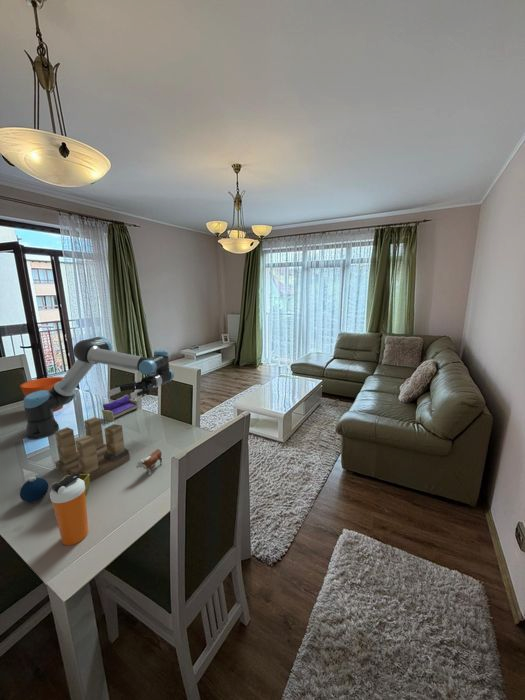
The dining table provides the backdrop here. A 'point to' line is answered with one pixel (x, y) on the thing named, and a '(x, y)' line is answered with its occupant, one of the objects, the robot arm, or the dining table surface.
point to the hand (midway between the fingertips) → (119, 395)
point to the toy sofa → (118, 407)
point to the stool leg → (114, 439)
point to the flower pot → (86, 479)
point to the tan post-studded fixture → (86, 452)
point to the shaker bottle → (70, 509)
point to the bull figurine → (150, 461)
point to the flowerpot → (40, 386)
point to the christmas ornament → (34, 489)
